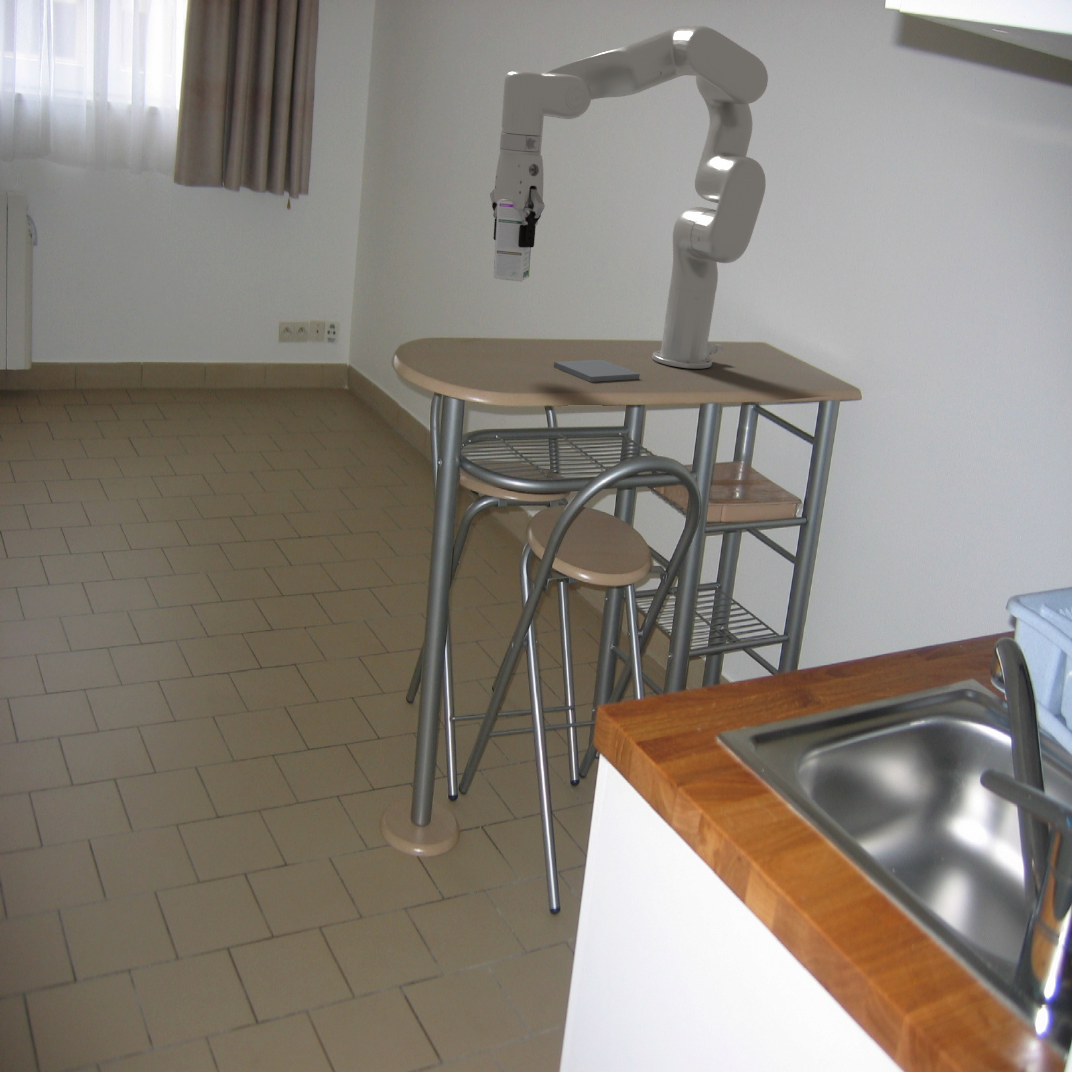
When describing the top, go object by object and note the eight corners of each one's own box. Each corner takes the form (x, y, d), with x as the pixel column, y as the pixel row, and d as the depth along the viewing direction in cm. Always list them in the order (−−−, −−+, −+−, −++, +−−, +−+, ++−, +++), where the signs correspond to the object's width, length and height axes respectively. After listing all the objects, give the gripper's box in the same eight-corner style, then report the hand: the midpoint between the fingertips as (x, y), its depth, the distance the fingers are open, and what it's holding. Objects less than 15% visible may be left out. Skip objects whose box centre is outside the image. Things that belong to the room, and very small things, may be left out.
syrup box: (522, 282, 212) (529, 201, 206) (492, 278, 213) (497, 198, 207) (529, 277, 217) (535, 199, 212) (499, 274, 218) (504, 196, 213)
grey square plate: (601, 364, 230) (602, 359, 230) (639, 378, 221) (639, 373, 221) (553, 366, 223) (554, 361, 223) (590, 382, 214) (590, 376, 214)
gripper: (565, 150, 202) (556, 250, 208) (511, 141, 215) (504, 236, 221) (530, 148, 198) (522, 251, 204) (478, 139, 211) (472, 236, 217)
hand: (513, 243), depth 213 cm, fingers closed on syrup box, 7 cm apart
